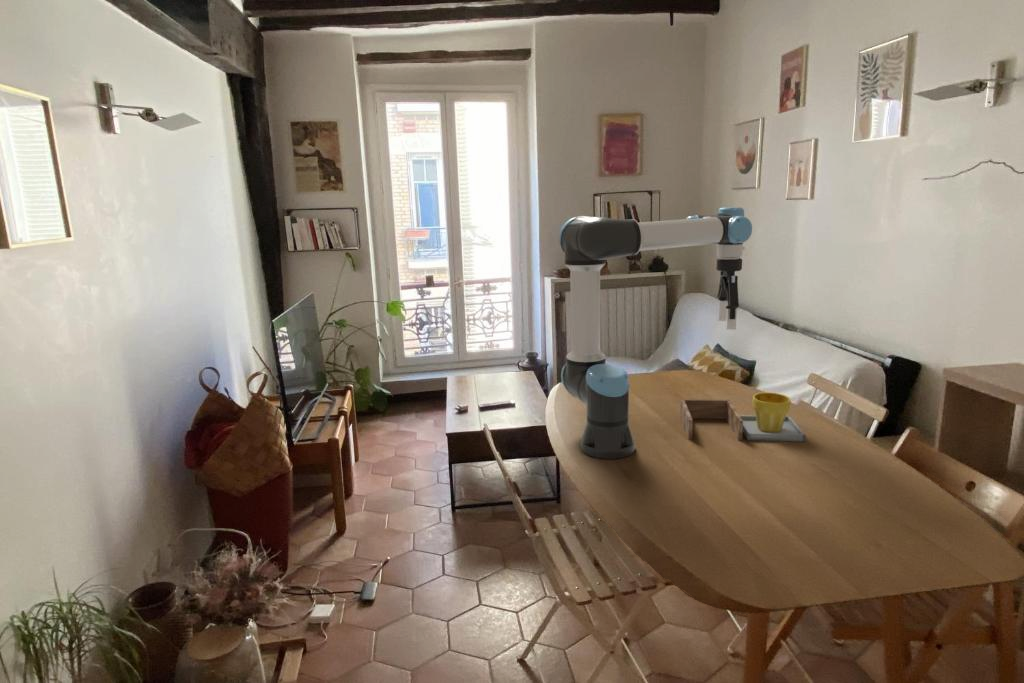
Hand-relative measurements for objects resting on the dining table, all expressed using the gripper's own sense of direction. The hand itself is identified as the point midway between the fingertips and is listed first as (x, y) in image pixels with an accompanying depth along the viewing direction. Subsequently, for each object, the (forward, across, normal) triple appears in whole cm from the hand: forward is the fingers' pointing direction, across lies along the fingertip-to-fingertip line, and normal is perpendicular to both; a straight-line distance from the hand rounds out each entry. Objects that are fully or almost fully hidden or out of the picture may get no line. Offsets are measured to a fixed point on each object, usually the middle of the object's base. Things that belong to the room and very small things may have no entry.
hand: (726, 324), depth 197 cm
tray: (+29, -18, -10) cm, 35 cm away
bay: (+29, -17, +7) cm, 34 cm away
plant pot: (+28, -18, -10) cm, 35 cm away
